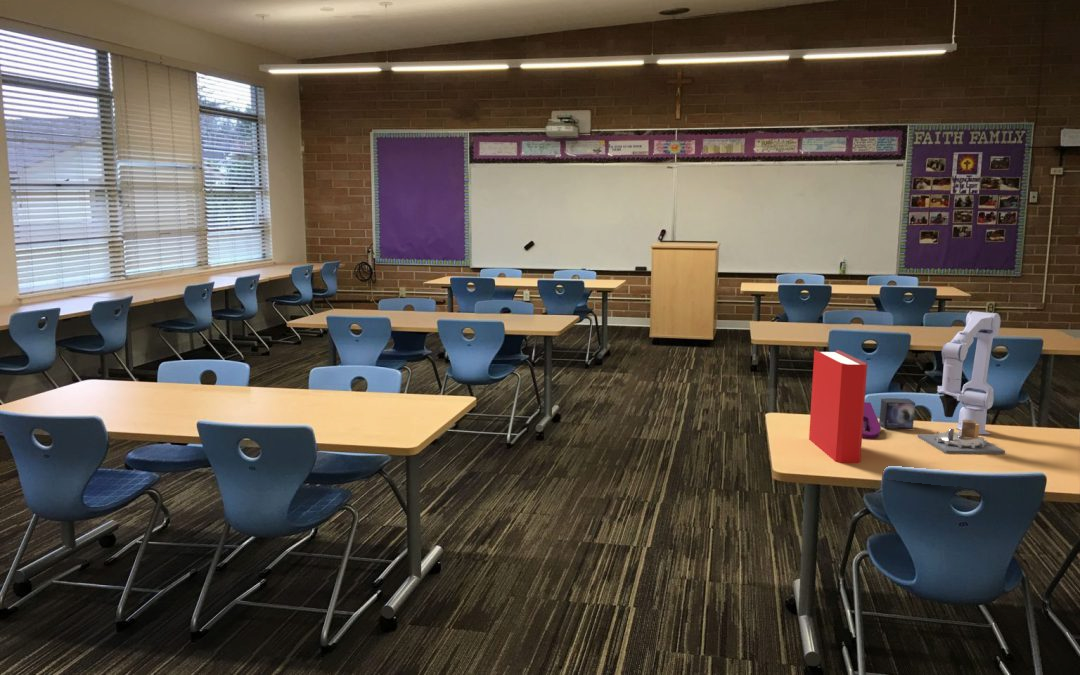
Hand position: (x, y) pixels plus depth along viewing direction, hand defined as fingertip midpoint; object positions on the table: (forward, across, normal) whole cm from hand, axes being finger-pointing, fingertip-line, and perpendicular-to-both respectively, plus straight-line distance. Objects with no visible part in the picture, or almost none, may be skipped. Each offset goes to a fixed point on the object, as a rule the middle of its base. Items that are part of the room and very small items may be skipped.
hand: (948, 416), depth 292 cm
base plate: (+10, +1, +4) cm, 11 cm away
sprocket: (+9, +1, +4) cm, 10 cm away
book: (+10, +8, -42) cm, 44 cm away
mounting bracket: (+10, -16, -23) cm, 30 cm away
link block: (+7, -2, +8) cm, 11 cm away
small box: (+10, -22, -8) cm, 26 cm away
